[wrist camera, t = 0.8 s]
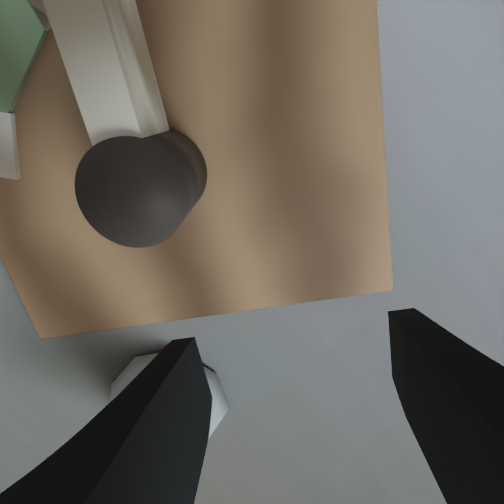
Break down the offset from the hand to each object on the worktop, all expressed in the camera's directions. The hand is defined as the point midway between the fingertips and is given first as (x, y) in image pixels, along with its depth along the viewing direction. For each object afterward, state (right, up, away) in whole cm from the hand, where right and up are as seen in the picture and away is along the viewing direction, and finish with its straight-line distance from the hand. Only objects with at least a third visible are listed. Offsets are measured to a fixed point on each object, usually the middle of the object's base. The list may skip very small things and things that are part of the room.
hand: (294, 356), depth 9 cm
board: (-5, +9, +8) cm, 13 cm away
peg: (-6, +11, +6) cm, 14 cm away
